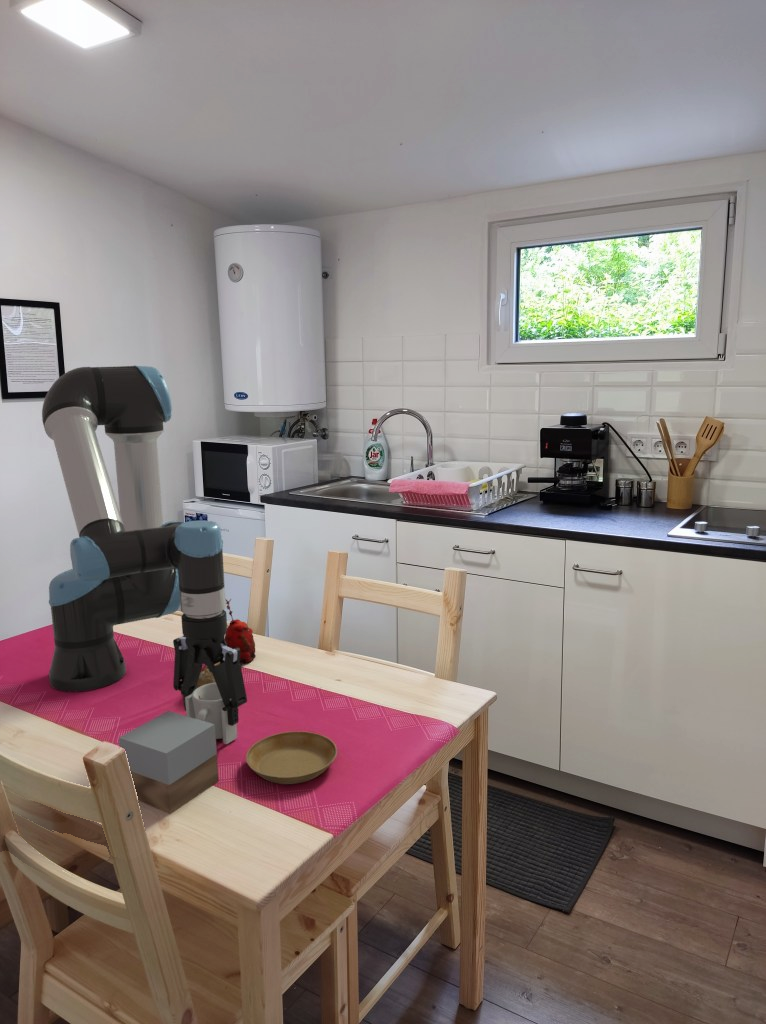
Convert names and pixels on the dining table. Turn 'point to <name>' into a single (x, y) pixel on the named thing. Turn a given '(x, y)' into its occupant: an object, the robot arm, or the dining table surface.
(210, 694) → the cup
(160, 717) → the grey block
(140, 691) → the dining table surface
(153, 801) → the walnut block
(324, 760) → the plant saucer
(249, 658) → the red textured ornament
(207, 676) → the bread roll
